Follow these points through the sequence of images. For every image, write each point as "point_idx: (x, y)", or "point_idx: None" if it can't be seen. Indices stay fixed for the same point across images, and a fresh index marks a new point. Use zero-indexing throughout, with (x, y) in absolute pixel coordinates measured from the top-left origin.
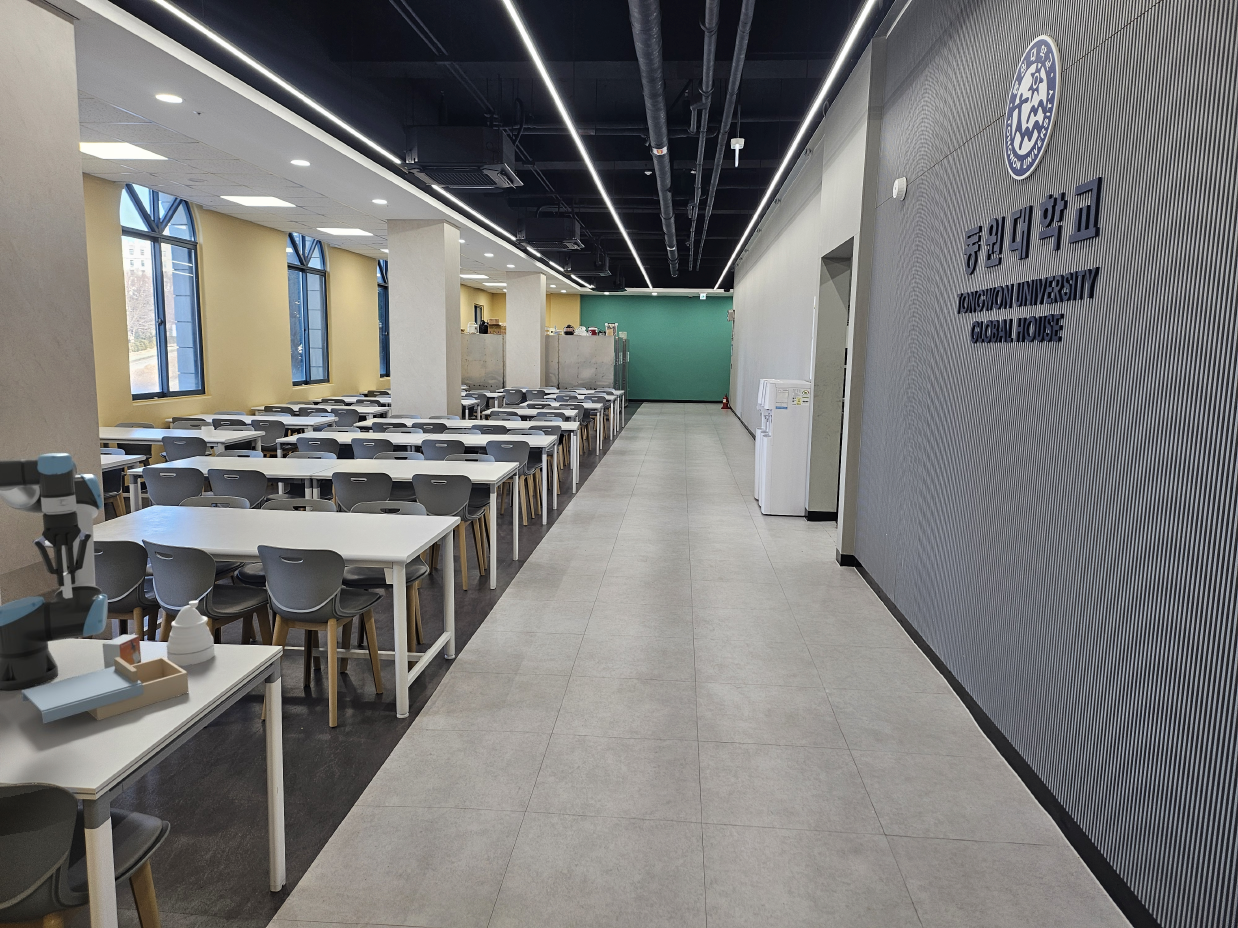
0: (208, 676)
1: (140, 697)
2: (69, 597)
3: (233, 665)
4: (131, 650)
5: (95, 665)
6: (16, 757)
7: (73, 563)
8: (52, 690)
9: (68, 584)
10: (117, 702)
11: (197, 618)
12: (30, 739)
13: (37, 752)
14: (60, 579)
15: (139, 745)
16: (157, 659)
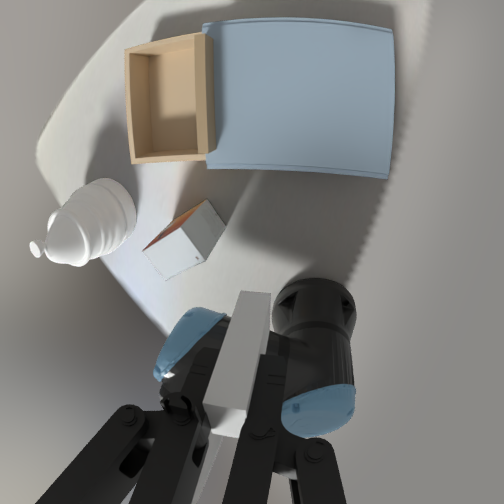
0: (106, 105)
1: None
2: (254, 293)
3: (74, 129)
4: (168, 229)
5: (224, 290)
6: (421, 16)
7: (151, 463)
8: (351, 120)
9: (238, 347)
10: None
11: (52, 224)
12: (396, 55)
13: (396, 5)
14: (271, 393)
15: None
16: (141, 157)
